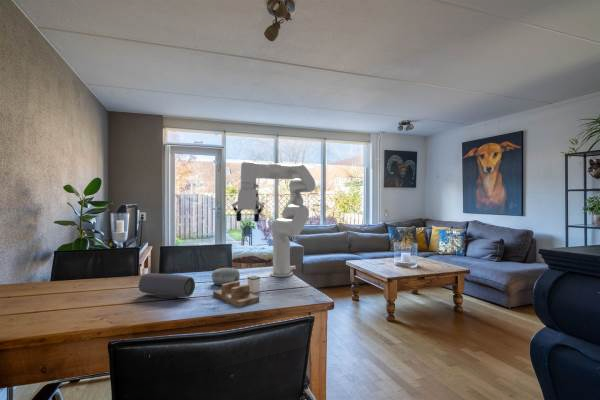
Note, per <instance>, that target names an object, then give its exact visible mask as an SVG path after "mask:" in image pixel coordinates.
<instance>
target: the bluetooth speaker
mask: <svg viewBox="0 0 600 400" xmlns="http://www.w3.org/2000/svg"><path fill="white" fill-rule="evenodd" d="M195 288H196V283H195V279H194V277H191V276H187V275H181V274H180V275H179V274H173V273H172V274H170V273H158V272H157V273H153V272H152V273H144V274H142V276H141V277H140V279H139V281H138V289H139V291H140V292H141V293H145V294H148V295H155V298H160V299H170V300H171V299H172V300H175V299H177V298H189V297H190V296H192V295H193V294H194V291H195Z"/></svg>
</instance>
